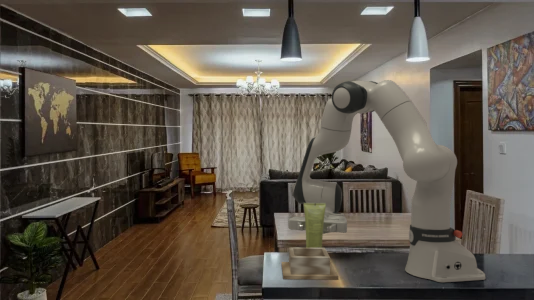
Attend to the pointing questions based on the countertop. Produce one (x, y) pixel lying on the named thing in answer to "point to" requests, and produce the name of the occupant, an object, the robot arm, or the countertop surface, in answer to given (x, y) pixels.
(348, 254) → the countertop surface
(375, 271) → the countertop surface
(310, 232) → the tube
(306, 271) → the socket stand
